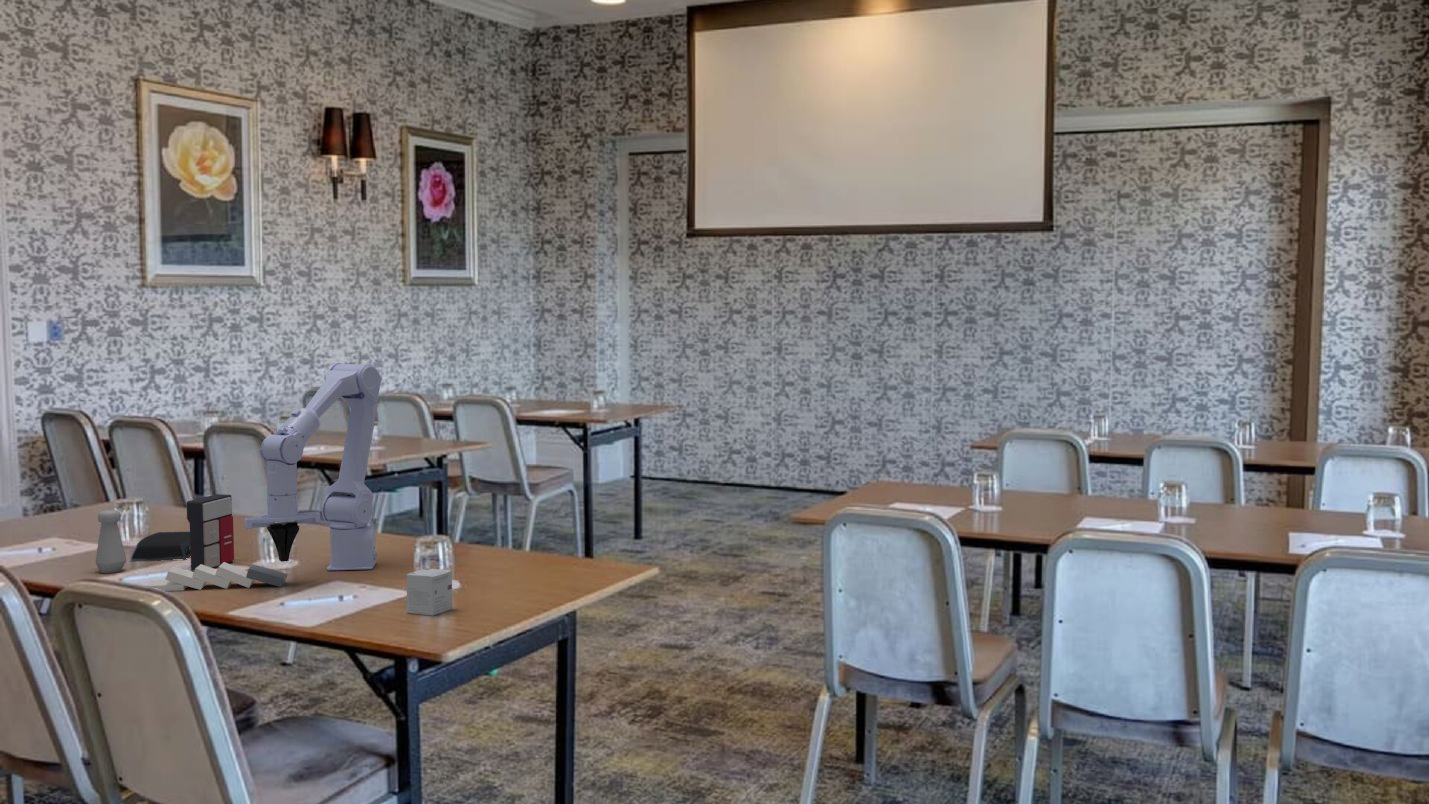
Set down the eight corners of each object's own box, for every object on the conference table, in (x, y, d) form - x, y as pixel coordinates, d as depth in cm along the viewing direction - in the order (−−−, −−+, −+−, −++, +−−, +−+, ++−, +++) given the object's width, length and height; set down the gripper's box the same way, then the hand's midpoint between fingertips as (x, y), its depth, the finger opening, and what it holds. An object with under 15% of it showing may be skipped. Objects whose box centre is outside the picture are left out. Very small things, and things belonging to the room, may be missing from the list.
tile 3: (234, 575, 246) (200, 564, 244) (230, 580, 241) (195, 568, 240) (231, 584, 246) (197, 572, 244) (226, 588, 241) (191, 576, 240)
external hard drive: (126, 563, 267) (125, 545, 267) (153, 547, 286) (152, 530, 286) (188, 562, 269) (187, 544, 269) (211, 545, 288) (210, 528, 288)
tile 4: (208, 576, 244) (173, 566, 243) (204, 581, 240) (168, 571, 239) (205, 584, 244) (170, 574, 243) (201, 590, 240) (165, 579, 239)
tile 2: (257, 575, 246) (223, 562, 245) (252, 579, 242) (218, 566, 241) (253, 583, 246) (220, 570, 245) (248, 588, 242) (215, 574, 241)
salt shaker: (132, 570, 258) (130, 509, 257) (109, 575, 253) (107, 513, 252) (113, 567, 261) (111, 507, 260) (89, 572, 256) (87, 511, 255)
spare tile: (287, 574, 247) (253, 564, 246) (283, 578, 243) (248, 568, 242) (284, 582, 247) (250, 572, 246) (280, 587, 243) (245, 577, 242)
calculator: (206, 572, 256) (204, 502, 255) (188, 571, 257) (186, 501, 256) (236, 561, 267) (234, 494, 266) (219, 560, 268) (217, 493, 267)
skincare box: (433, 616, 220) (433, 576, 220) (406, 613, 222) (405, 573, 222) (453, 609, 226) (452, 570, 225) (426, 605, 228) (425, 567, 228)
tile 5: (189, 579, 244) (152, 580, 243) (183, 584, 240) (145, 586, 238) (189, 588, 244) (152, 589, 243) (183, 593, 240) (146, 594, 239)
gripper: (312, 488, 251) (313, 553, 252) (239, 494, 243) (241, 561, 244) (323, 492, 245) (324, 558, 246) (249, 499, 237) (250, 567, 238)
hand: (283, 560), depth 245 cm, fingers closed
